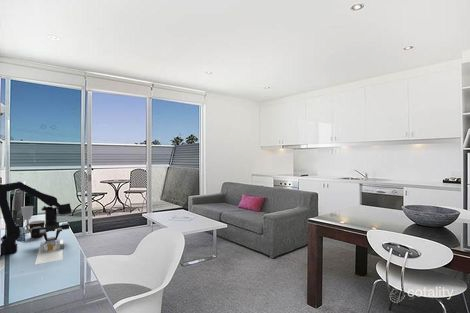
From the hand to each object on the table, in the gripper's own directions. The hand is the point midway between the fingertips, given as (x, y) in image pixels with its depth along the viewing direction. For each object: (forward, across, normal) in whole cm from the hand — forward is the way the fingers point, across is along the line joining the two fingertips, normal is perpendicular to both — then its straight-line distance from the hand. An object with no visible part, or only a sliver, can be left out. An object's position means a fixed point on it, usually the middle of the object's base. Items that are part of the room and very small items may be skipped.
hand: (51, 242), depth 161 cm
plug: (+1, 0, -4) cm, 4 cm away
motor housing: (+1, 0, -12) cm, 13 cm away
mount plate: (+2, 0, -14) cm, 14 cm away
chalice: (+2, -16, +41) cm, 44 cm away
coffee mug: (+2, -10, +25) cm, 27 cm away
